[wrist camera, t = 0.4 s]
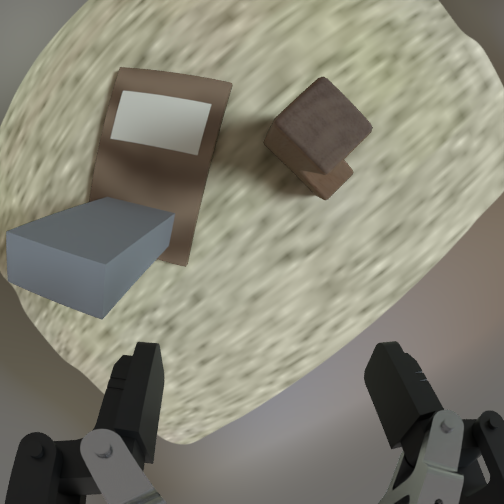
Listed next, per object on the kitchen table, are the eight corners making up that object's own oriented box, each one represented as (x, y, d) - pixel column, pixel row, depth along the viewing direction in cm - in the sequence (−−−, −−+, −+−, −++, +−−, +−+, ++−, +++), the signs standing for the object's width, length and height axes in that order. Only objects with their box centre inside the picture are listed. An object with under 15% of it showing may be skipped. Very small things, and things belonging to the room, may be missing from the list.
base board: (123, 69, 30) (119, 66, 29) (232, 85, 31) (231, 82, 30) (89, 236, 36) (84, 238, 35) (187, 263, 37) (185, 267, 36)
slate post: (107, 196, 34) (6, 231, 17) (175, 213, 34) (105, 264, 17) (102, 228, 35) (8, 281, 18) (168, 245, 36) (102, 319, 18)
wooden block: (343, 170, 34) (421, 183, 17) (317, 197, 35) (374, 232, 18) (289, 115, 32) (324, 72, 15) (261, 142, 33) (270, 122, 16)
